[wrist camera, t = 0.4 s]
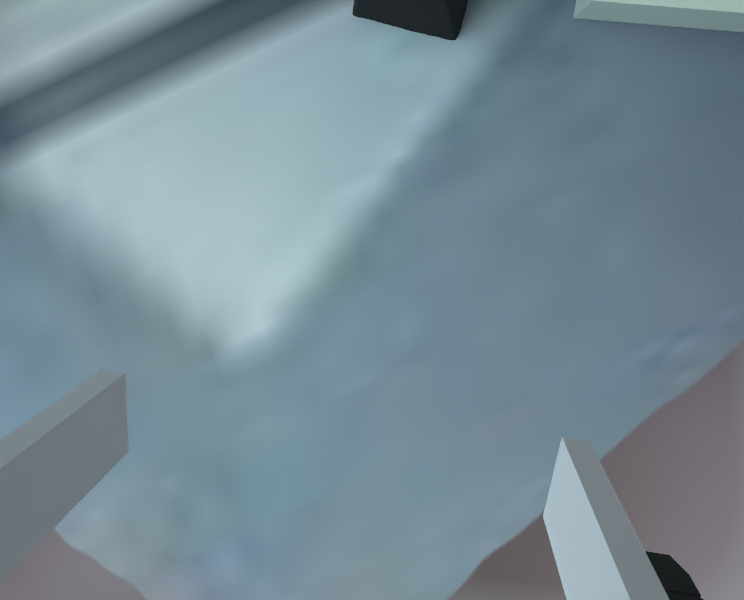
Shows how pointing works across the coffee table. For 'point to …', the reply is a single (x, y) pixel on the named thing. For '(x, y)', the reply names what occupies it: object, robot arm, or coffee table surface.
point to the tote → (667, 13)
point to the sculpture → (416, 15)
